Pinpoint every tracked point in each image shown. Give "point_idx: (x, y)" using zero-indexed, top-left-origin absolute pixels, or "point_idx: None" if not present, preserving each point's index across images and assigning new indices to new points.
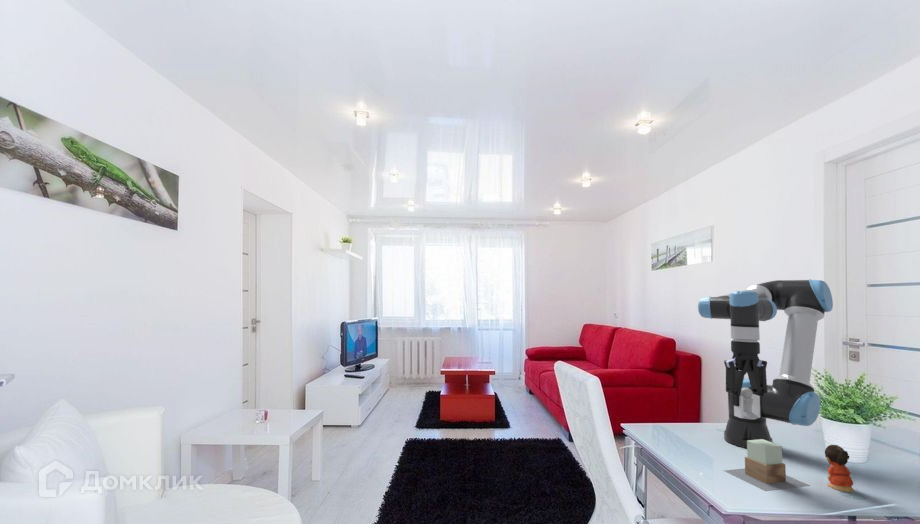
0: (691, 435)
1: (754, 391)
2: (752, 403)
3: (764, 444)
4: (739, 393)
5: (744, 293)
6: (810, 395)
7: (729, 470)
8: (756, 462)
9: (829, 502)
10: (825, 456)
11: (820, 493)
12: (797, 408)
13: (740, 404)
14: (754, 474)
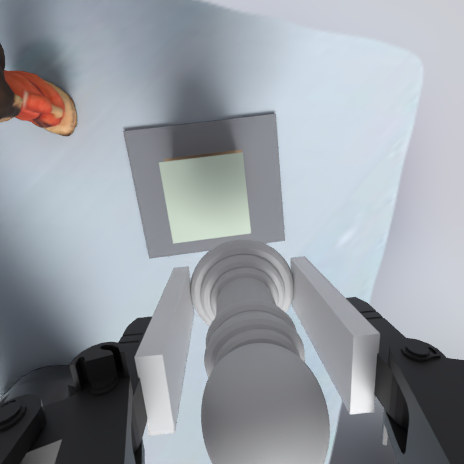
0: (188, 459)
1: (133, 446)
2: (230, 305)
3: (217, 184)
4: (420, 353)
5: None
6: None
7: (269, 239)
8: None
9: (152, 37)
10: (12, 114)
11: (130, 91)
12: None
13: (340, 297)
14: None
